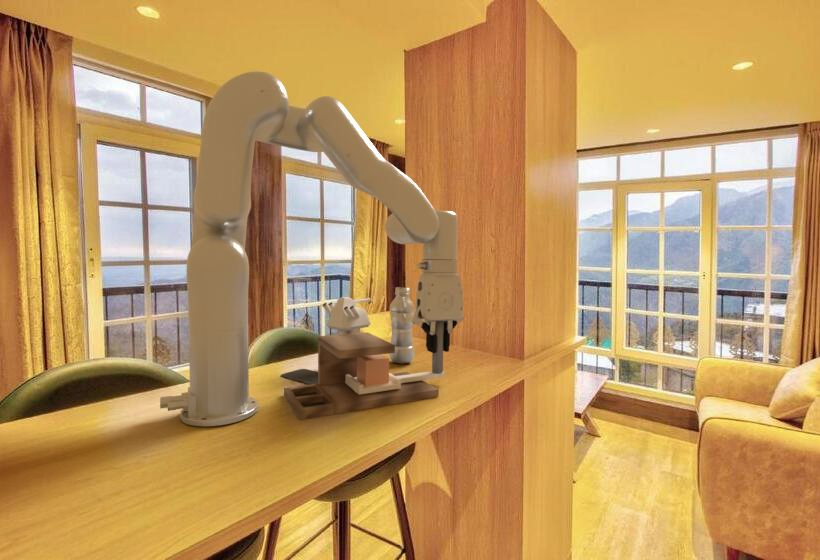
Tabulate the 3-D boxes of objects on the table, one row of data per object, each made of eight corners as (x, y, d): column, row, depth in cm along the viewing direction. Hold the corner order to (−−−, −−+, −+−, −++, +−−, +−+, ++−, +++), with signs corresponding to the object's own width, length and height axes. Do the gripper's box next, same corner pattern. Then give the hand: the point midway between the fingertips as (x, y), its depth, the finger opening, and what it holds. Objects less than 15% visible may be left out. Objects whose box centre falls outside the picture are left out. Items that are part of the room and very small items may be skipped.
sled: (358, 394, 80) (359, 327, 80) (345, 383, 88) (345, 321, 87) (451, 380, 90) (453, 320, 89) (432, 371, 97) (433, 315, 97)
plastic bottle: (414, 366, 108) (415, 289, 107) (387, 365, 108) (388, 288, 107) (414, 359, 115) (415, 287, 113) (389, 359, 115) (390, 286, 114)
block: (365, 385, 83) (366, 360, 82) (356, 379, 87) (357, 355, 87) (388, 382, 85) (389, 358, 85) (379, 376, 89) (379, 353, 89)
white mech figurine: (385, 366, 107) (386, 296, 106) (346, 378, 97) (346, 300, 96) (353, 358, 115) (353, 293, 114) (313, 368, 105) (314, 296, 103)
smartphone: (303, 367, 104) (346, 378, 95) (303, 371, 104) (346, 382, 95) (278, 374, 98) (322, 386, 89) (278, 378, 98) (322, 390, 89)
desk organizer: (299, 419, 72) (299, 354, 72) (283, 395, 85) (283, 338, 84) (438, 396, 85) (439, 340, 85) (407, 378, 98) (407, 329, 97)
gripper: (415, 268, 85) (413, 358, 86) (479, 268, 92) (477, 351, 93) (398, 267, 91) (397, 350, 93) (460, 267, 99) (458, 344, 100)
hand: (437, 350), depth 93 cm, fingers closed on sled, 2 cm apart
